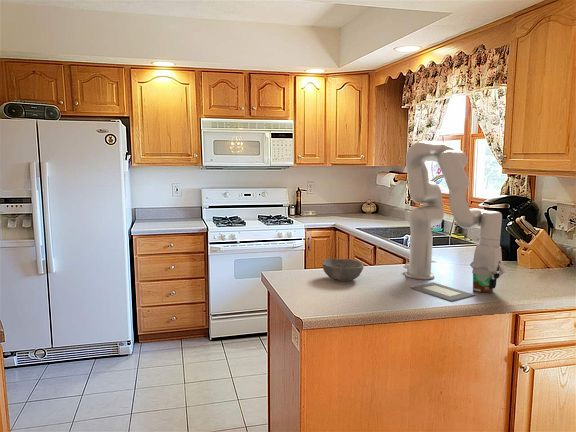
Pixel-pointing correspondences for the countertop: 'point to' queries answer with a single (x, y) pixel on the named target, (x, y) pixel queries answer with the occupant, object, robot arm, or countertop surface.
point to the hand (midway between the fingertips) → (485, 286)
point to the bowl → (342, 269)
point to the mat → (442, 291)
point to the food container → (481, 281)
